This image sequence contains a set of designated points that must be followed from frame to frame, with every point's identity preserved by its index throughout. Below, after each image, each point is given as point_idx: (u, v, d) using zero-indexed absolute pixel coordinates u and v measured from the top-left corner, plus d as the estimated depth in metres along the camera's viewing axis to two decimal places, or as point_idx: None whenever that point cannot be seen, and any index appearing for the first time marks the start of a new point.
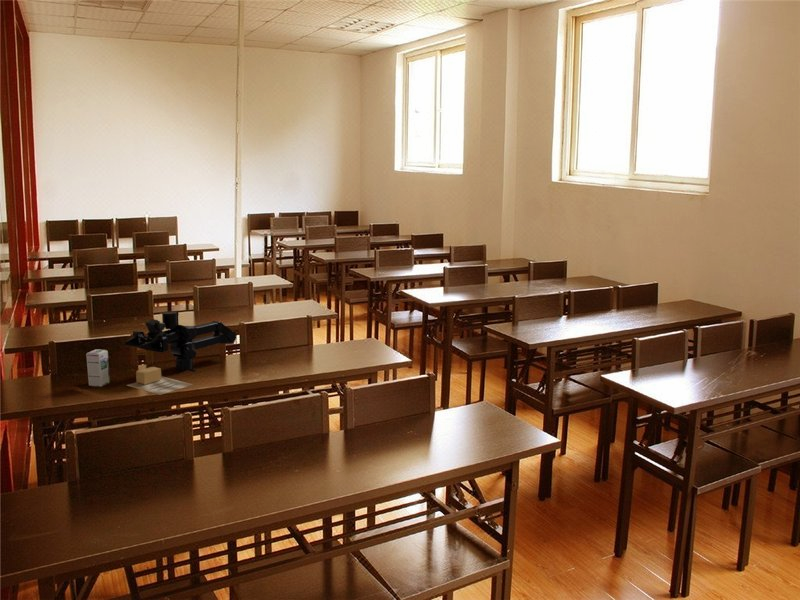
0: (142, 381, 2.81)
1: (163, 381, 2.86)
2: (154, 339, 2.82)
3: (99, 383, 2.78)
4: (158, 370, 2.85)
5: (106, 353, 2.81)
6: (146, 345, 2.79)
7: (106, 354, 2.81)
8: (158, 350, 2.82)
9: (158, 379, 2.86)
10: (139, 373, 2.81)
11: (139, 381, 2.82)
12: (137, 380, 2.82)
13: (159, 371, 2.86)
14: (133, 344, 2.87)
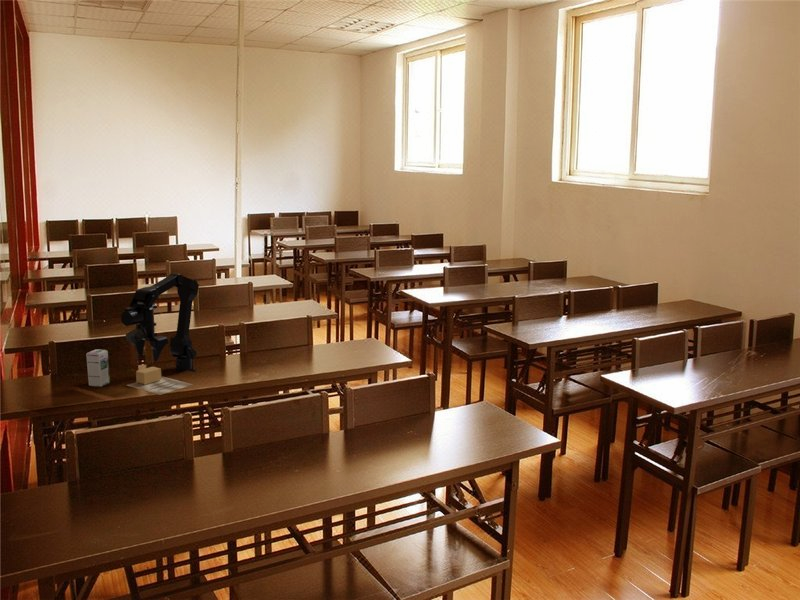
0: (142, 381, 2.81)
1: (163, 381, 2.86)
2: (152, 348, 2.77)
3: (99, 383, 2.78)
4: (158, 370, 2.85)
5: (106, 353, 2.81)
6: (156, 355, 2.80)
7: (106, 354, 2.81)
8: (164, 345, 2.80)
9: (158, 379, 2.86)
10: (139, 373, 2.81)
11: (139, 381, 2.82)
12: (137, 380, 2.82)
13: (159, 371, 2.86)
14: (142, 346, 2.86)
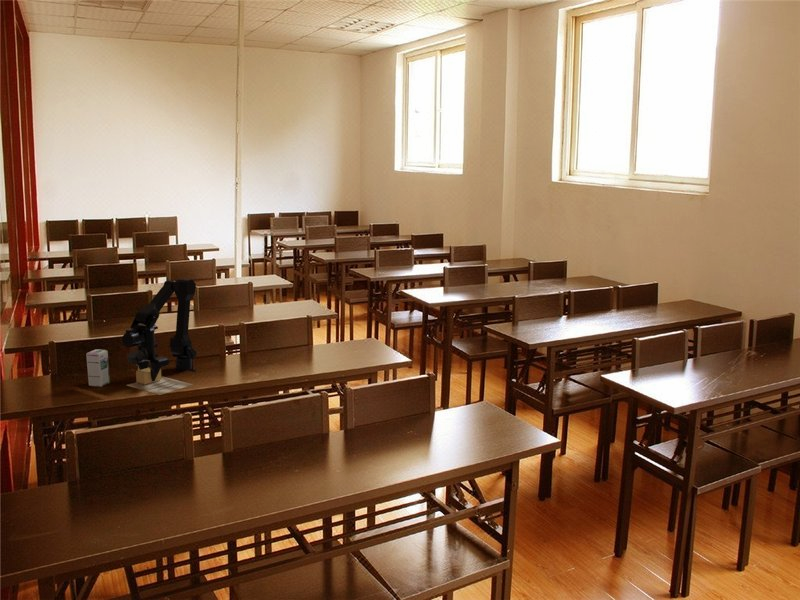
0: (142, 381, 2.81)
1: (163, 381, 2.86)
2: (150, 368, 2.80)
3: (99, 383, 2.78)
4: None
5: (106, 353, 2.81)
6: (153, 375, 2.82)
7: (106, 354, 2.81)
8: None
9: (158, 379, 2.86)
10: (139, 373, 2.81)
11: (139, 381, 2.82)
12: (137, 380, 2.82)
13: (159, 371, 2.86)
14: None
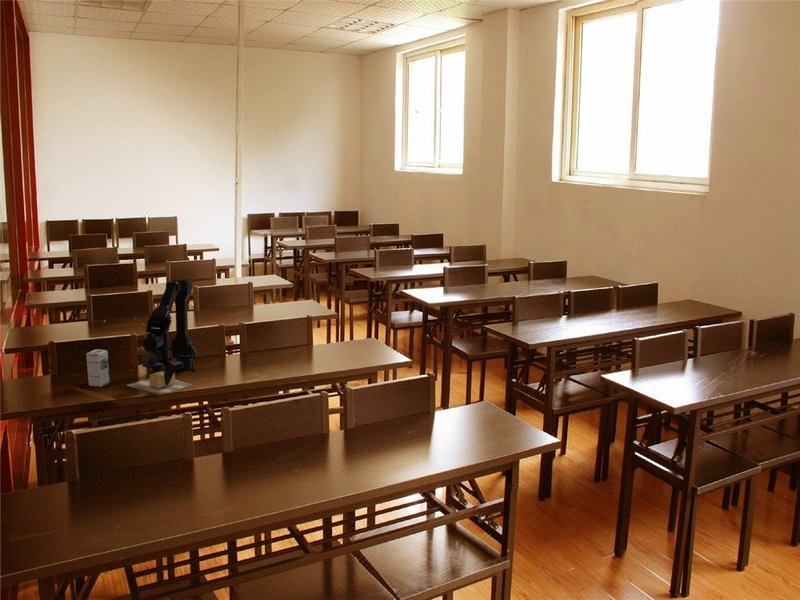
0: (156, 385, 2.76)
1: None
2: (164, 372, 2.75)
3: (99, 383, 2.78)
4: None
5: (106, 353, 2.81)
6: (167, 379, 2.78)
7: (106, 354, 2.81)
8: None
9: (172, 383, 2.81)
10: (153, 377, 2.77)
11: (153, 385, 2.77)
12: (151, 384, 2.78)
13: (173, 374, 2.81)
14: (159, 371, 2.82)
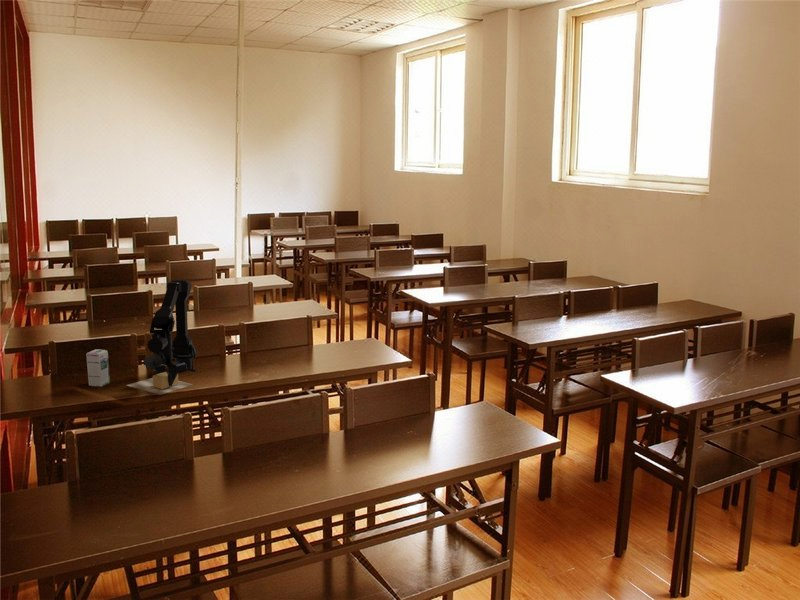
0: (159, 386, 2.75)
1: None
2: (167, 373, 2.75)
3: (99, 383, 2.78)
4: None
5: (106, 353, 2.81)
6: (171, 380, 2.77)
7: (106, 354, 2.81)
8: None
9: (175, 383, 2.80)
10: (156, 377, 2.76)
11: (156, 386, 2.77)
12: (154, 385, 2.77)
13: None
14: None
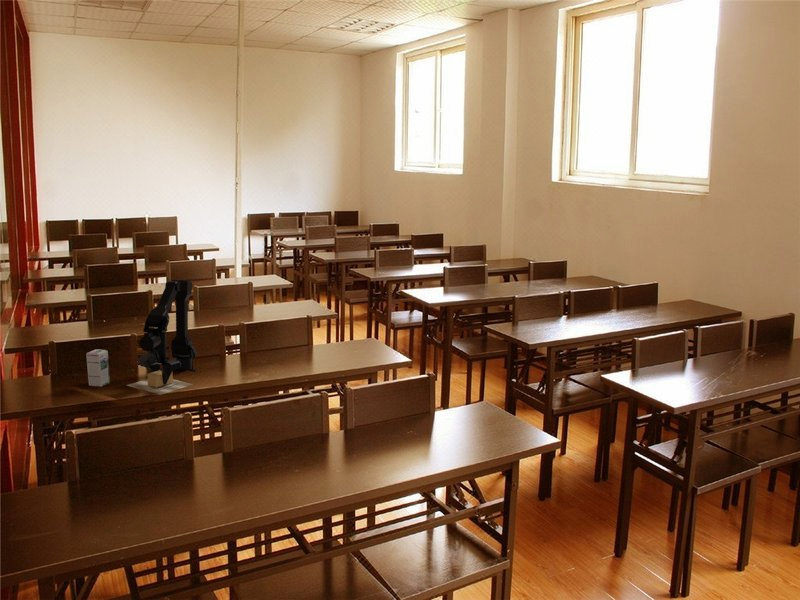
0: (153, 384, 2.77)
1: None
2: (162, 371, 2.76)
3: (99, 383, 2.78)
4: None
5: (106, 353, 2.81)
6: (165, 378, 2.78)
7: (106, 354, 2.81)
8: None
9: (169, 382, 2.82)
10: (150, 376, 2.77)
11: (150, 384, 2.78)
12: (148, 383, 2.79)
13: (171, 374, 2.82)
14: None
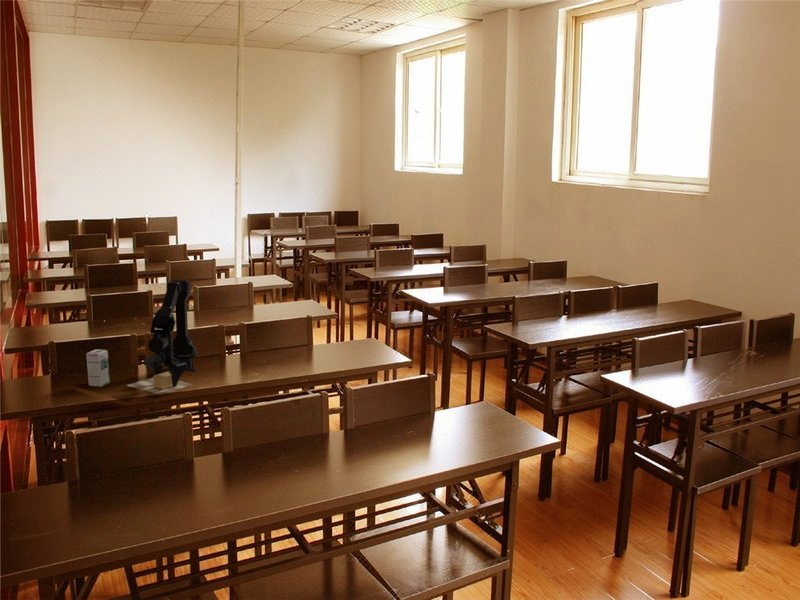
0: (160, 386, 2.75)
1: None
2: (171, 374, 2.73)
3: (99, 383, 2.78)
4: None
5: (106, 353, 2.81)
6: (174, 381, 2.76)
7: (106, 354, 2.81)
8: None
9: None
10: (156, 378, 2.76)
11: (156, 386, 2.76)
12: (154, 385, 2.77)
13: None
14: (160, 371, 2.82)
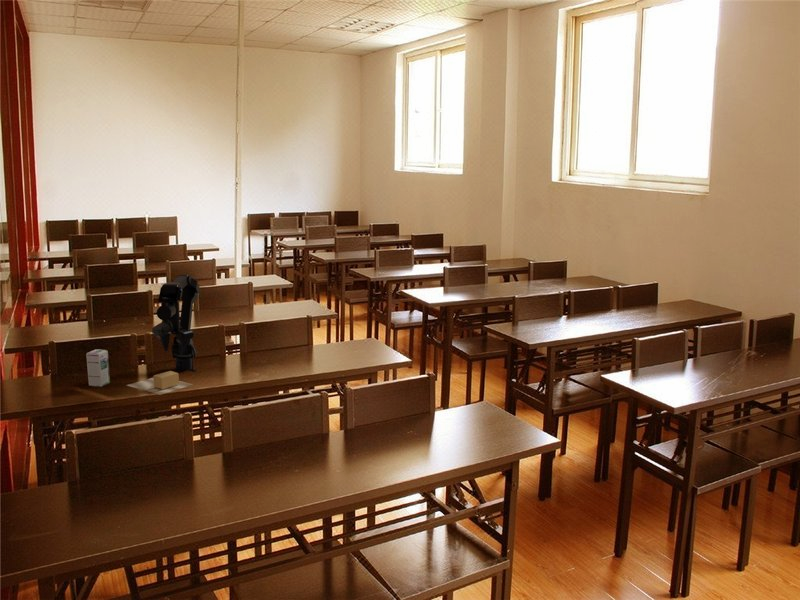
0: (160, 386, 2.75)
1: None
2: (178, 341, 2.82)
3: (99, 383, 2.78)
4: (176, 375, 2.80)
5: (106, 353, 2.81)
6: (182, 349, 2.84)
7: (106, 354, 2.81)
8: (190, 338, 2.85)
9: (176, 384, 2.80)
10: (156, 378, 2.76)
11: (156, 386, 2.76)
12: (154, 385, 2.77)
13: (177, 376, 2.80)
14: (167, 340, 2.91)
